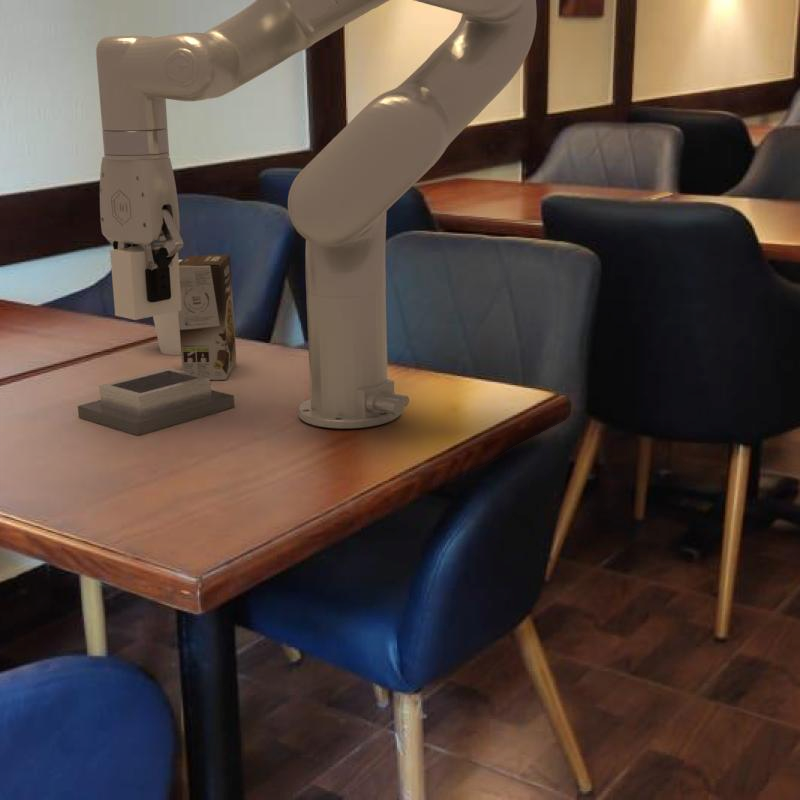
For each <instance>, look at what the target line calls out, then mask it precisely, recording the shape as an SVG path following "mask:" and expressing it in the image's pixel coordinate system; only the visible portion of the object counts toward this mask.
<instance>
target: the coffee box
mask: <svg viewBox="0 0 800 800" xmlns="http://www.w3.org/2000/svg"><path fill="white" fill-rule="evenodd" d="M181 260H182V261H181V262H179V276H180V291H181V307H182V310H181V311H178V314H179V328H180V343H181V355H180V358H181V370H182V371H186V372H190V373H194V374H198V375H202V376H206V377H210V381H226V380H228V378H229V376H230V375H231V373H233V372H232V371H233V370H234V369H235V367H236V365H237V349H236V346H237V345H236V333H235V332H236V331H235V329H236V328H235V317H234V303H233V302H234V301H233V299H234V298H233V284H232V281H233V280H232V268H231V267H232V266H231V255H230V254H227V253H226V254H201V255H186V256H185V257H184V258H183V259H181Z"/></svg>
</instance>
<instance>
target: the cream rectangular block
mask: <svg viewBox="0 0 800 800" xmlns="http://www.w3.org/2000/svg"><path fill="white" fill-rule="evenodd" d="M154 248H155V253H156V254H157V252H158V251H159V249H160V246H159V247H154ZM109 255H110V266H111V277H112V278H111V281H112V290H113V291H112V293H113V304H114V316H115V317H120V318H124V319H129V320H134V321H135V320H136V321H138V320H141V319H147V318H151V317H152V318H153V316H157V315H162V314H167V313H171V312H176V311H181V310H182V307H181V291H180V276H179V260H180V259H179V251H178V252H177V253H176V255H175V256H174V258H173V260H172V266H171V267H169V270H170V285H171V298H170V299H168V300H163V301H158V302H153V303H152V302H148V300H147V288H146V274H145V269H149V267H148V262H147V257H146V251H145V246H144V245H140V246H133V245H132V247H127V248H120V249H114V248H113V249H110V250H109Z"/></svg>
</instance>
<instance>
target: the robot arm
mask: <svg viewBox="0 0 800 800" xmlns="http://www.w3.org/2000/svg"><path fill="white" fill-rule="evenodd" d="M389 1H390V0H255V1H254V2H252V4H250V5H248V6H247V7H245V8H244V9H243V10H241V11H240V12H238V13H236V14H235V15H233V16H231V17H230V18H227V19H226V20H224V21H222V22H221V23H219V24H217V25H216V26H214V27H212V28H211V29H208V30H207V31H204V32H181V33H174V34H169V35H162V36H157V37H153V36H149V35H148V36H145V35H119V36H117V35H116V36H113V35H112V36H106V37H103V38H101V39H100V40H99V41H98V43H97V45H96V50H95V52H96V54H95V55H96V67H97V68H96V69H97V70H96V71H97V79H98V81H97V82H98V91H99V93H98V95H99V105H100V115H101V119H100V120H101V129H102V142H103V143H102V145H103V157H102V158H101V164H100V173H99V211H100V212H99V215H100V227H101V234H102V235H103V236H104V237H105V239H106V240H107V241H108V242H109V243H110V245H111V246H112V248H113V250H114V249H120V248H127V247H133V246H140V245H144V246H145V251H146V257H147V262H148V267H149V269H145V274H146V288H147V300H148V302H152V303H153V302H158V301H163V300H168V299H170V298H171V285H170V270H169V267H171V266H172V260H173V258H174V256H175V255H176V253H177V252H178V253H179V251H180V250H181V249H182V248H183V247H184V241H183V239H182V237H181V234H180V211H179V201H178V193H177V186H176V180H175V175H174V170H173V166H172V161H171V157H170V147H169V145H170V144H169V131H168V116H167V114H168V113H167V100H173V101H180V102H199V101H205V100H208V99H209V100H210V99H215V98H220V97H222V96H225V95H227V94H228V93H230V92H233V91H235V90H237V89H238V88H239V87H240V88H241V87H242V86H243V85H246V84H247V83H248V82H250V81H252V80H254V79H255V78H258V77H259V76H260V75H262V74H265V73H266V72H268V71H270V70H271V69H273V68H275V67H276V66H278V65H279V64H281V63H283V62H285V61H286V60H288V59H289V58H290V57H292V56H294V55H296V54H298V53H300V52H302V51H304V50H306V49H309V48H310V47H312V46H313V45H314V44H315V43H317V42H319V41H321V40H323V39H324V38H326V37H328V36H329V35H331V34H333V33H335V32H337V31H338V30H340V29H342V28H343V27H344V26H345V25H348V24H349V23H351V22H353V21H355V20H357V19H359V18H360V17H363V16H364V15H365V14H367V13H368V12H370V11H372V10H374V9H376V8H378V7H380V6H382V5H384V4H385V3H387V2H389ZM413 1H414V2H419V3H422V4H426V5H429V6H433V7H437V8H439V9H440V8H441V9H444V10H445V9H446V10H448V11H452V12H456V13H459V14H462V15H461V18H460V21H459V23H458V24H457V26H456V28H455V29H454V30H453V32H452V33H451V34H450V35H448V36H447V38H446V39H445V40H444V41H443V42H442V43H440V45H438V47H437V48H435V49H434V51H433V52H432V53H431V54H430V55H429V56H428V58H427V59H426V60H425V61H424V62H423V63H422V64H421V65H420V66H419V67H418V68H417V69H416V70H414V72H412V74H410V75H409V76H408V77H407V78H406V79H405V80H404V81H403V82H402V83H400V84H399V85H398V86H397V87H395V88H393V89H391V90H388V91H386V92H383V93H382V94H379V95H378V96H377V97H374V99H372V100H371V102H369V103H368V104H367V105H366V106H365V107H363V109H361V110H360V111H359V112H358V113H357V114H356V115H355V116H354V117H353V119H351V120H350V122H348V123H347V124H346V126H345V127H343V129H342V130H341V131H339V133H337V134H336V135H335V136H334V137H333V138H332V140H330V142H328V143H327V145H326V146H324V148H323V149H321V151H320V152H318V153H317V154H316V155H315V157H314V158H312V159H311V160H310V161H309V162H308V163H307V164H306V165H305V167H303V168H302V170H301V171H300V172H299V173H298V174H297V175H296V177H295V178H294V180H293V182H292V184H291V186H290V189H289V191H288V197H287V211H288V214H289V218H290V219H289V220H290V221H291V223H292V225H293V227H294V229H295V230H296V232H297V233H298V234H299V235H300V236H301V237H302V238H303V239H305V290H306V292H305V293H306V311H307V312H306V314H307V319H306V320H307V321H306V322H307V338H308V339H307V340H308V341H307V342H308V343H307V344H308V361H309V362H308V367H309V388H310V390H309V391H310V392H309V393H310V398H308V399H307V400H304V401H303V402H301V403H300V404H299V406H298V408H297V409H298V412H297V413H298V417H299V419H301V421H303V422H304V423H306V424H308V425H312V426H316V427H320V428H327V429H345V430H346V429H351V430H352V429H363V428H370V427H376V426H380V425H385V424H387V423H390V422H393V421H394V420H396V419H398V417H399V416H401V415H402V414H403V413H404V410H405V407H407V406H408V405H409V403H410V402H409V401H410V398H409V396H408V395H405V394H400V393H395V380H393V379H389V378H388V344H387V343H388V341H387V340H388V338H387V337H388V336H387V334H388V333H387V299H386V298H387V297H386V289H387V280H386V278H387V275H386V274H387V273H386V241H387V239H386V238H387V235H386V234H387V211H388V210H389V209H390V208H391V207H392V206H393V205H394V204H395V203H396V202H397V201H398V200H400V198H402V197H403V195H405V193H407V192H408V190H410V188H412V187H413V186H414V185H415V184H416V183H417V182H418V181H419V180H420V179H421V178H423V176H424V175H425V174H426V173H427V172H428V171H429V170H430V169H431V168H432V167H434V166H435V164H436V163H437V162H438V161H439V160H440V158H441V157H442V155H443V154H444V153H445V151H446V150H447V148H448V147H449V146H450V144H451V143H452V142H453V141H454V140H455V139H456V138H457V137H458V136H459V135H460V134H461V133H462V131H464V130H465V129H466V128H467V127H468V125H470V124H471V122H474V120H475V119H476V118H477V117H478V116H479V115H480V114H481V113H482V112H483V110H484V109H486V107H488V105H489V104H490V103H491V102H492V101H494V99H495V98H496V97H497V96H499V94H500V93H501V92H502V91H503V90H504V89H505V88H506V86H508V84H509V83H510V82H511V81H512V80H513V78H514V77H515V76H516V74H517V73H518V71H519V70H520V69H521V67H522V66H523V64H524V62H525V60H526V58H527V56H528V54H529V52H530V49H531V46H532V44H533V41H534V37H535V33H536V27H537V17H538V16H537V15H538V13H537V1H536V0H413ZM159 246H160V249H159V251H158V252H157V254H156V253H155V248H154V247H159Z"/></svg>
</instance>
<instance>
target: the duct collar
mask: <svg viewBox="0 0 800 800" xmlns="http://www.w3.org/2000/svg"><path fill="white" fill-rule="evenodd" d="M211 386H212V385H211V380H210V377H206V376H202V375H198V374H194V373H190V372H186V371H182V369H176V368H173V367H167V368H164V369H159V370H155V371H152V372H148V373H143V374H140V375H135V376H131V377H128V378H124V379H120V380H116V381H112V382H108V383H104V384H101V385H98V389H99V399H98V400H96V401H91V402H87V403H84V404H80V405H77V411H78V412H77V413H78V418H80V419H82V420H86V421H89V422H93V423H96V424H100V425H102V426H105V427H108V428H111V429H113V430H114V429H115V430H117V431H121V432H124V433H128V434H131V435H134V436H137V437H138V436H141V435H145V434H148V433H149V434H150V433H153V432H154V431H159V430H162V429H165V428H168V427H172V426H175V425H179V424H183V423H185V422H189V421H192V420H195V419H199V418H203V417H206V416H210V415H213V414H216V413H219V412H223V411H226V410H229V409H233V408H235V395H232V394H229V393H224V392H220V391H217V390H212V387H211Z"/></svg>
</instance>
